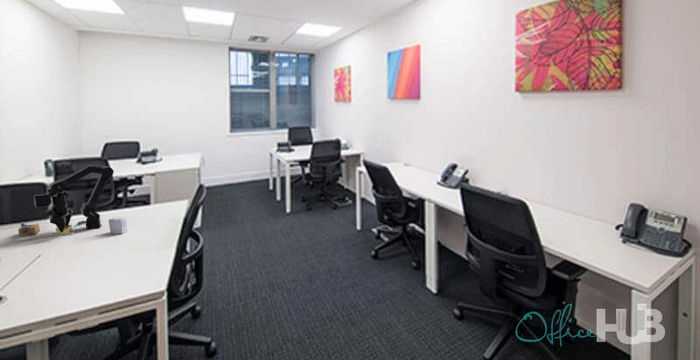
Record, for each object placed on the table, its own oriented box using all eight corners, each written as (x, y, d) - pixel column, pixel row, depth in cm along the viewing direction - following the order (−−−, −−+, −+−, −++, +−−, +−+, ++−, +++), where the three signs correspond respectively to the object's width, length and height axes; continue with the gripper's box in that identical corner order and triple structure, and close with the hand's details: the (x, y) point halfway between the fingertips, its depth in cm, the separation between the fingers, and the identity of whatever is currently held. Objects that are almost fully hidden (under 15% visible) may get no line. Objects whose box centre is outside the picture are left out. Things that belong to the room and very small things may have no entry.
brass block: (72, 231, 199) (71, 224, 198) (69, 233, 195) (68, 227, 194) (60, 232, 197) (59, 225, 196) (56, 235, 193) (55, 228, 192)
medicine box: (128, 231, 201) (126, 217, 199) (122, 234, 196) (120, 220, 195) (116, 230, 202) (114, 217, 200) (110, 233, 197) (108, 219, 195)
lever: (28, 231, 186) (27, 227, 186) (22, 232, 184) (21, 228, 184) (27, 226, 194) (26, 222, 193) (20, 227, 192) (20, 223, 192)
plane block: (40, 231, 200) (38, 223, 199) (35, 234, 194) (34, 227, 193) (24, 232, 197) (23, 225, 196) (19, 236, 191) (18, 229, 190)
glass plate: (75, 230, 201) (75, 230, 201) (71, 234, 195) (71, 233, 195) (58, 232, 197) (58, 232, 197) (54, 236, 191) (54, 236, 191)
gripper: (47, 201, 197) (52, 226, 200) (35, 209, 181) (40, 237, 184) (71, 199, 202) (75, 223, 205) (61, 207, 185) (66, 234, 189)
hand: (64, 229), depth 195 cm, fingers open, 9 cm apart
